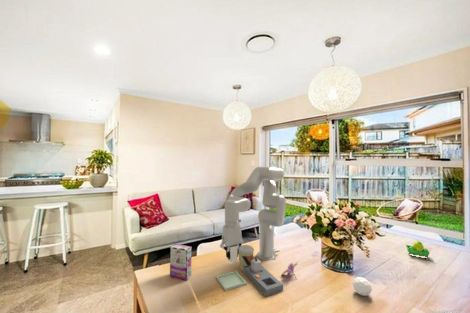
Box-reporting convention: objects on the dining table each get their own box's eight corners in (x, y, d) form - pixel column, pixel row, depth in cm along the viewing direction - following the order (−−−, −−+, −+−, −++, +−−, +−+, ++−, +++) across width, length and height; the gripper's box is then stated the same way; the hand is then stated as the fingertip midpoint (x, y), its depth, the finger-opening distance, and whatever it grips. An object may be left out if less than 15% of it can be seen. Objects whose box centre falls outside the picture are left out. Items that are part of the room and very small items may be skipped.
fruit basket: (427, 256, 140) (427, 239, 140) (430, 261, 133) (430, 244, 133) (405, 252, 146) (405, 236, 147) (408, 256, 139) (408, 240, 139)
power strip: (243, 274, 116) (244, 266, 116) (258, 269, 120) (258, 263, 120) (266, 297, 96) (266, 288, 96) (283, 291, 100) (283, 283, 100)
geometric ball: (364, 302, 97) (363, 294, 93) (349, 287, 104) (348, 279, 100) (375, 293, 98) (375, 284, 95) (361, 279, 105) (360, 270, 101)
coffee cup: (242, 274, 115) (243, 252, 116) (235, 266, 124) (235, 246, 124) (256, 270, 120) (256, 249, 120) (248, 263, 128) (248, 243, 128)
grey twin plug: (257, 272, 116) (257, 255, 116) (261, 276, 112) (261, 258, 113) (251, 274, 114) (251, 257, 114) (254, 278, 111) (255, 260, 111)
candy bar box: (191, 276, 113) (192, 246, 113) (186, 281, 108) (187, 250, 109) (175, 272, 117) (175, 243, 117) (169, 276, 112) (169, 246, 112)
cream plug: (234, 257, 111) (233, 240, 111) (237, 260, 108) (237, 242, 107) (227, 259, 109) (227, 241, 109) (230, 262, 106) (230, 244, 106)
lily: (300, 274, 117) (293, 257, 121) (309, 277, 107) (300, 258, 110) (282, 283, 115) (275, 266, 118) (289, 287, 104) (281, 267, 107)
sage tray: (236, 273, 116) (236, 270, 116) (246, 285, 105) (246, 282, 105) (216, 279, 110) (216, 275, 110) (225, 292, 99) (225, 288, 100)
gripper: (242, 218, 115) (242, 250, 116) (214, 223, 108) (215, 257, 108) (249, 222, 109) (249, 256, 109) (220, 228, 101) (220, 264, 101)
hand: (232, 256), depth 108 cm, fingers closed on cream plug, 4 cm apart
